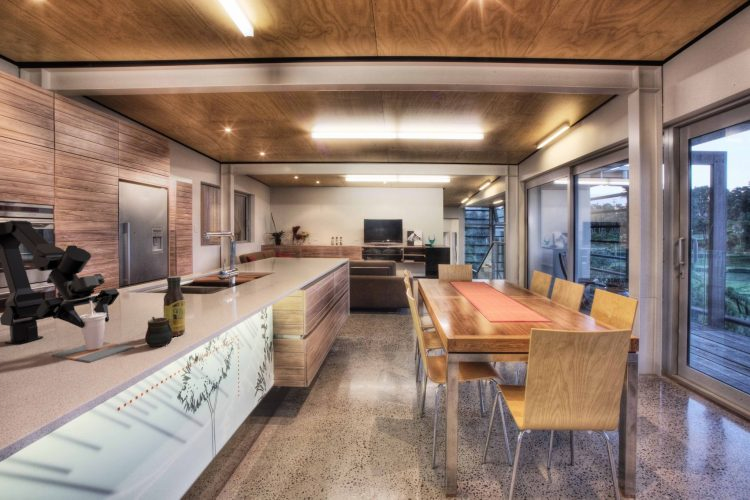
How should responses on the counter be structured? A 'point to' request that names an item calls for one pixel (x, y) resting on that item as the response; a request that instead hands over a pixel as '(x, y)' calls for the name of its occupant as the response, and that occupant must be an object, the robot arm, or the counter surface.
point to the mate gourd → (158, 332)
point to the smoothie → (93, 328)
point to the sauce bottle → (175, 306)
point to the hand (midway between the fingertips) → (95, 323)
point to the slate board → (93, 352)
